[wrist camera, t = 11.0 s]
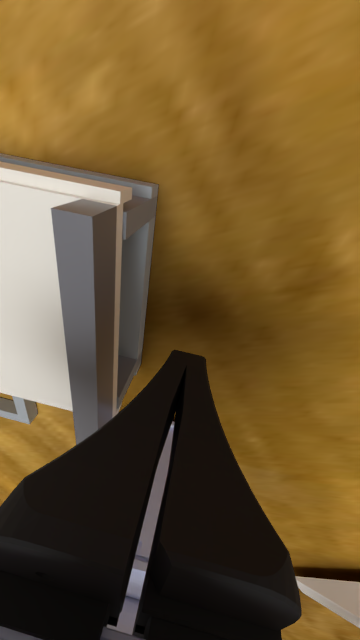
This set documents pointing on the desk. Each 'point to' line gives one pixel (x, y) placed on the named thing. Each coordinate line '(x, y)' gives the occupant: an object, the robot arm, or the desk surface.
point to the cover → (61, 291)
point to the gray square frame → (133, 277)
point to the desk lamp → (334, 596)
